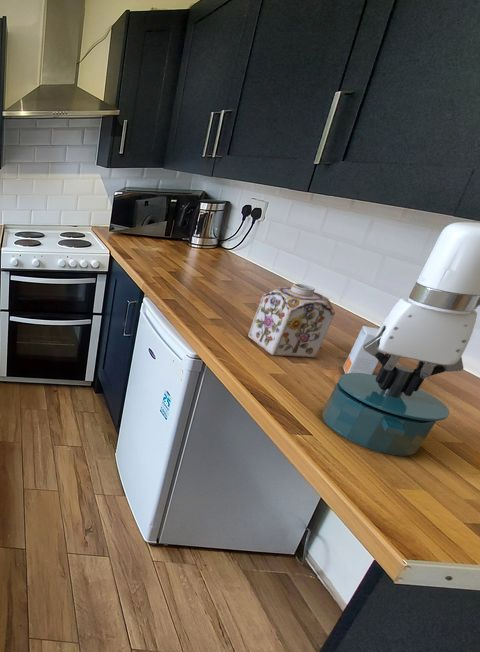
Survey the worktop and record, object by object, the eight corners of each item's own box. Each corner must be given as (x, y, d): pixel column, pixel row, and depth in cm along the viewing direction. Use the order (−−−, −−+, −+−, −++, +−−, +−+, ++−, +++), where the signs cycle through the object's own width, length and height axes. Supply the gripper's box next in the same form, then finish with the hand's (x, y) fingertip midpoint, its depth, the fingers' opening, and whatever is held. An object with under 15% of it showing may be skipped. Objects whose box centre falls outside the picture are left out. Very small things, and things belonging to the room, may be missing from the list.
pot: (401, 418, 83) (419, 388, 80) (433, 476, 68) (457, 442, 65) (316, 395, 90) (330, 366, 87) (328, 443, 75) (345, 410, 72)
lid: (430, 393, 78) (448, 363, 75) (460, 435, 66) (482, 402, 64) (331, 369, 85) (344, 342, 83) (343, 404, 74) (358, 373, 71)
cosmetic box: (341, 367, 102) (362, 325, 97) (364, 373, 100) (386, 330, 95) (345, 377, 98) (366, 333, 93) (368, 383, 95) (391, 339, 91)
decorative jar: (246, 336, 117) (267, 277, 110) (286, 338, 117) (310, 280, 109) (272, 356, 106) (297, 293, 99) (316, 359, 106) (346, 295, 99)
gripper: (504, 302, 66) (447, 394, 74) (373, 282, 74) (334, 368, 82) (527, 316, 61) (463, 415, 68) (383, 294, 69) (340, 384, 76)
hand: (393, 388), depth 75 cm, fingers closed on lid, 2 cm apart
